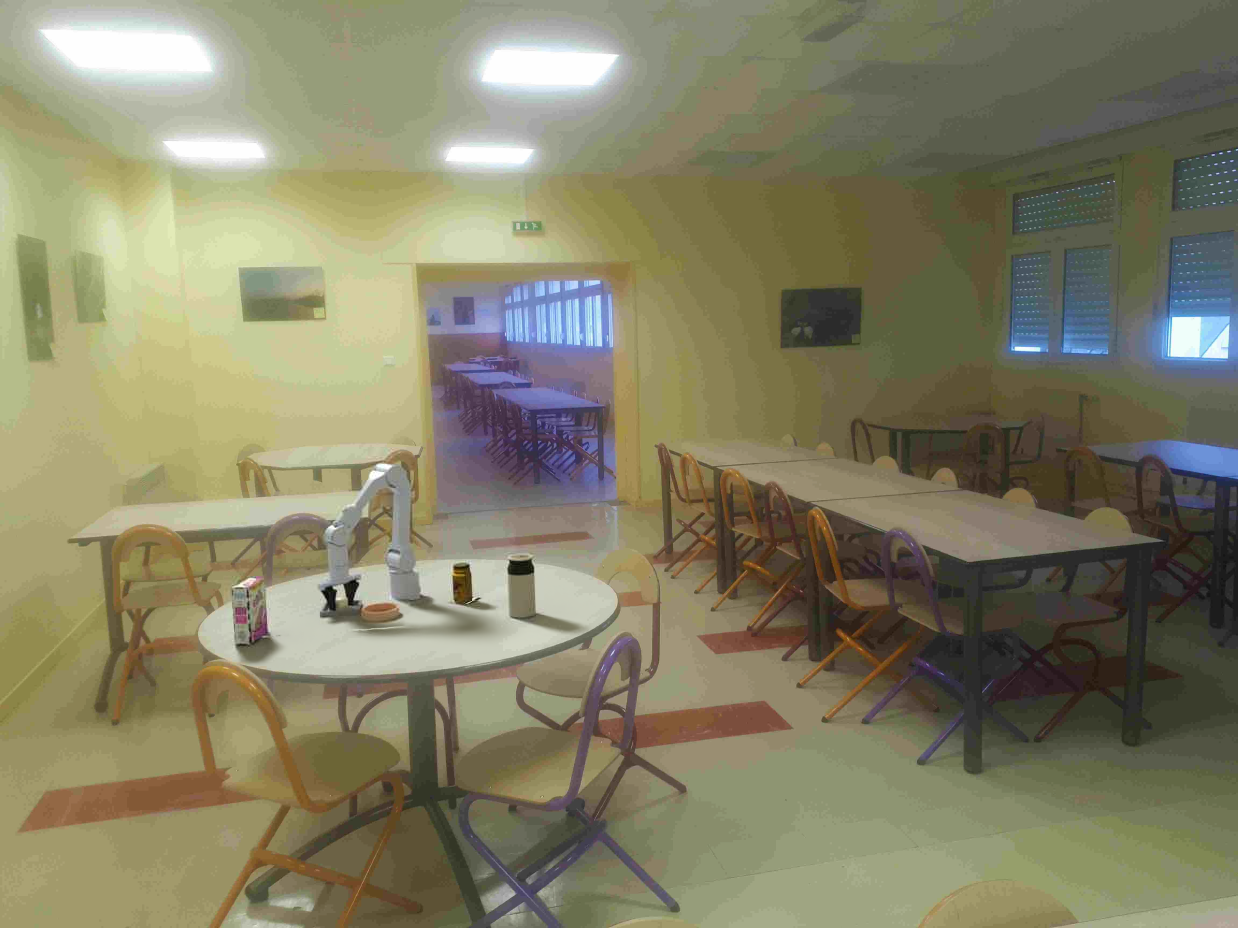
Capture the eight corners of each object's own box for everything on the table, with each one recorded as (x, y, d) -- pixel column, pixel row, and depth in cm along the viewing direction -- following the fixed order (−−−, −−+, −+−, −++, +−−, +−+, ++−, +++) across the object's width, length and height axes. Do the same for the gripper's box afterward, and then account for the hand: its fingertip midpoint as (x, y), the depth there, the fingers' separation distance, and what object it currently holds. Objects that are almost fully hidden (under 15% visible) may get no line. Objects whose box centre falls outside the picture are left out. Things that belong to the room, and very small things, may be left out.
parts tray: (362, 605, 280) (361, 599, 280) (358, 615, 270) (357, 609, 269) (325, 608, 278) (325, 602, 278) (320, 618, 268) (319, 612, 267)
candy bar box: (252, 645, 244) (247, 587, 242) (234, 645, 244) (229, 587, 242) (269, 632, 255) (265, 576, 253) (252, 632, 255) (248, 577, 253)
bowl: (400, 610, 274) (400, 601, 274) (398, 621, 263) (397, 611, 263) (364, 613, 272) (363, 603, 272) (360, 623, 262) (359, 614, 261)
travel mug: (531, 619, 263) (529, 559, 261) (505, 618, 265) (503, 559, 262) (538, 611, 271) (537, 553, 268) (513, 610, 272) (511, 552, 270)
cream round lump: (349, 607, 276) (348, 596, 276) (347, 611, 272) (346, 600, 272) (335, 608, 276) (334, 597, 275) (333, 612, 272) (333, 601, 271)
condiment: (447, 603, 282) (446, 566, 280) (462, 595, 290) (460, 559, 288) (467, 605, 279) (466, 567, 277) (481, 597, 287) (480, 561, 285)
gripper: (349, 558, 280) (352, 599, 282) (310, 567, 268) (313, 611, 270) (364, 560, 276) (366, 603, 278) (324, 570, 264) (327, 615, 266)
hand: (341, 607), depth 274 cm, fingers open, 6 cm apart
